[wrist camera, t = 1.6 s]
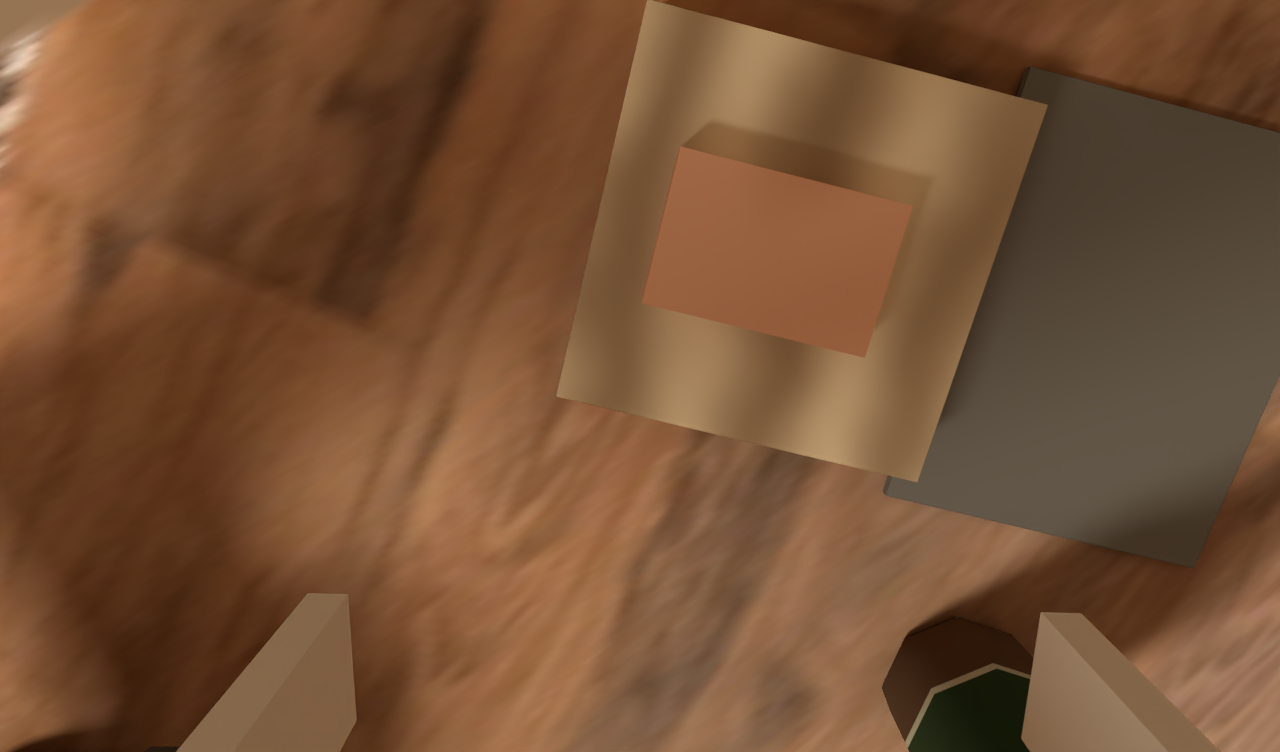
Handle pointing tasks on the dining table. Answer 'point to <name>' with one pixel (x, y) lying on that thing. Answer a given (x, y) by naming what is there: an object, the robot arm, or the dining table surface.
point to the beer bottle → (960, 689)
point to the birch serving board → (821, 151)
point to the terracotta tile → (774, 252)
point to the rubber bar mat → (1118, 328)
